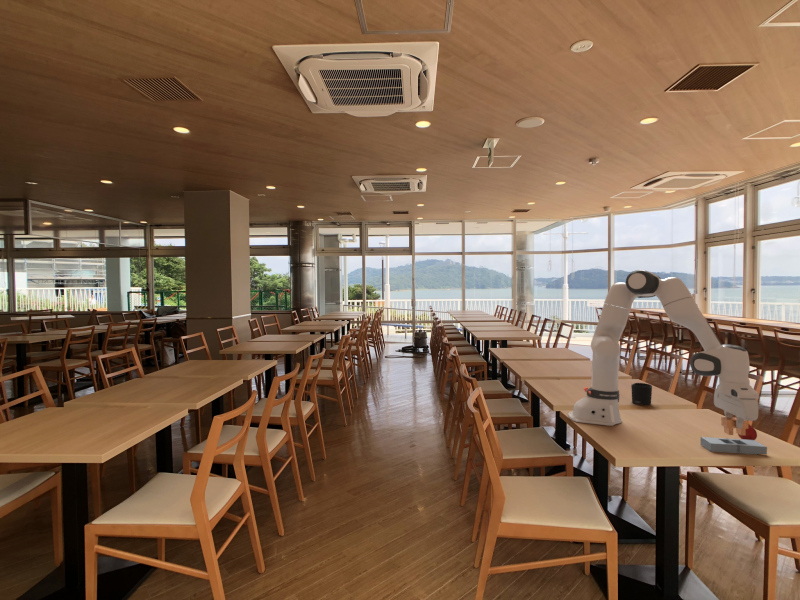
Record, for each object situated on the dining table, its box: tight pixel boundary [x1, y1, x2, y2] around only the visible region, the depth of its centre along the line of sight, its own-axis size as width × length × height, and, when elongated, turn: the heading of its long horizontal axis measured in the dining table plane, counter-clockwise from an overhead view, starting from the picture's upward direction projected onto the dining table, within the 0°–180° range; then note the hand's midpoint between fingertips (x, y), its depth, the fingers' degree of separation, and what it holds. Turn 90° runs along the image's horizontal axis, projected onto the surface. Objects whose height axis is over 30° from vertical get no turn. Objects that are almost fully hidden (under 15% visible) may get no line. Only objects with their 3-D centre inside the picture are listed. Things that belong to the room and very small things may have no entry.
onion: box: [737, 422, 758, 441], centre depth 160 cm, size 6×6×8 cm
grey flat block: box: [700, 436, 768, 455], centre depth 153 cm, size 18×7×3 cm, turn 79°
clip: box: [720, 416, 749, 436], centre depth 153 cm, size 7×4×6 cm, turn 80°
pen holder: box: [631, 382, 653, 406], centre depth 217 cm, size 9×9×10 cm
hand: (734, 425), depth 153 cm, fingers closed on clip, 3 cm apart
